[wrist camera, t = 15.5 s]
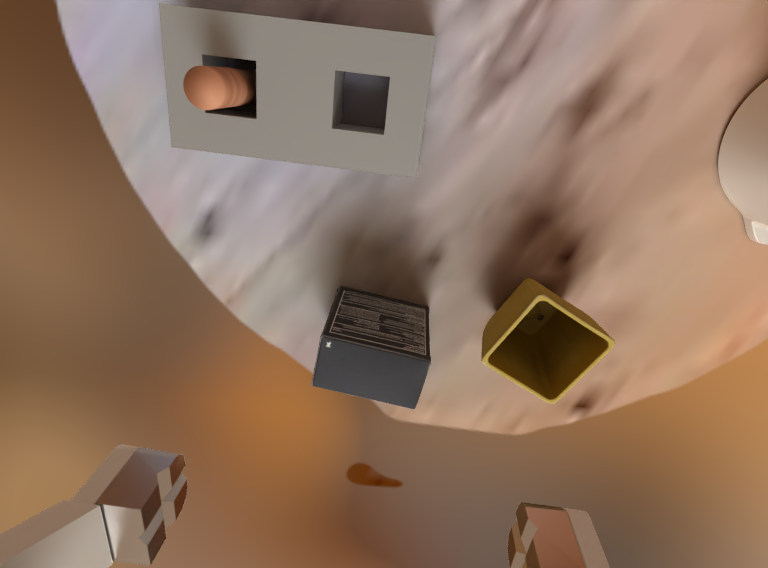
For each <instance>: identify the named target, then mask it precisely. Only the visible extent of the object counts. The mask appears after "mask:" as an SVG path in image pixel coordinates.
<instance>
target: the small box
mask: <svg viewBox="0 0 768 568" xmlns="http://www.w3.org/2000/svg"><path fill="white" fill-rule="evenodd" d="M429 339H430V338H429V308H428V307H424V306H420V305H416V304H412V303H408V302H404V301H400V300H396V299H392V298H387V297H383V296H379V295H375V294H371V293H367V292H362V291H358V290H354V289H350V288H345V287H342V286H341V287H339V288H338V289H337V295H336V297H335V300H334V303H333V305H332V308H331V311H330V313H329V316H328V319H327V322H326V324H325V327H324V330H323V332H322V334H321V336H320V343H319V348H318V353H317V359H316V363H315V368H314V374H313V379H312V385H313V386H315V387H320V388H324V389H328V390H333V391H337V392H342V393H346V394H350V395H355V396H359V397H363V398H368V399H372V400H376V401H381V402H385V403H389V404H394V405H398V406H402V407H406V408H410V409H415V408H416V405H417V403H418V400H419V397H420V394H421V391H422V388H423V385H424V382H425V379H426V376H427V372H428V369H429V366H430V363H431V357H430V344H429V342H430V341H429Z"/></svg>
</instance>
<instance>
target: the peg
mask: <svg viewBox="0 0 768 568" xmlns="http://www.w3.org/2000/svg"><path fill="white" fill-rule="evenodd" d="M183 87H184V92H185V95H186V97H187V98H188V100H189V101H190V102H191V103H192V104H193V105H194V106H195V107H197V108H199V109H202V110H213V109H220V108H227V107H235V106H242V105H249V104H256V103H257V98H256V71H255V70H253V69H242V68H228V67H213V66H195V67H192V68H191V69H189V70H188V71H187V73H186V75H185V77H184V81H183Z"/></svg>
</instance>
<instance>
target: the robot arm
mask: <svg viewBox="0 0 768 568" xmlns="http://www.w3.org/2000/svg"><path fill="white" fill-rule="evenodd" d="M718 172H719V178H720V182H721V186H722V188H723V190H724V192H725V194H726V196H727V197H728V199H729V200H730V201H731V202H732V204H733V205H734V206H735V207H736V208H737V209H738V210H739V211H740V212H741V214H742V215H743V218H744V223H745V228H746V232H747V235H748V237H749V238H750V239H751V240H752V241H754V242H757V243H761V244H768V79H767V80H765V81H764V82H763V83H762V84H761V85H759V86H758V87H757V88H756V89H755V90H754V91H753V92H752V93H751V94H750V95H749V96H748V97H747V99H746V100H745V101H744V102H743V103H742V105H741V106H740V107H739V109H738V110H737V112H736V113H735V114H734V116H733V118H732V119H731V121H730V123H729V125H728V127H727V129H726V131H725V134H724V137H723V139H722V143H721V146H720V151H719V158H718ZM184 467H185V460H184V455H181V454H176V453H170V452H164V451H158V450H152V449H146V448H139V447H133V446H127V445H120V446H118V447H116V448H115V449H114V450H112V452H111V453H110V454H109V455H108V457H107V458H106V459H105V460H104V461H103V462H102V464H101V465H100V466H99V467H98V468H97V469H96V471H95V472H94V473H93V474H92V475H91V476H90V478H89V479H88V480H87V482H85V484H84V485H83V486H82V487H81V488H80V489H79V491H78V492H77V493H76V494H75V496H74V497H73V498H72V499H71V500H70V501H68V500H63V501H61V502H59V503H57V504H55V505H53V506H52V507H50V508H48V509H46V510H44V511H42V512H41V513H39V514H37V515H35V516H33V517H31V518H30V519H28V520H26V521H24V522H22V523H20V524H18V525H16V526H15V527H13V528H11V529H9V530H7V531H5V532H3V533H1V534H0V568H108V567H109V566H111V565H112V564H113V561H115V562H124V563H132V564H141V565H149V566H151V564H152V562H153V560H154V559H155V557H156V555H157V553H158V551H159V550H160V548H161V546H162V545H163V543H164V541H165V539H166V534H165V528H166V527H167V526H169V525H170V524H172V523H173V522H174V521H176V520H177V518H178V516H179V514H180V512H181V510H182V508H183V505H184V502H185V499H186V495H187V479H186V478H185V476H183V474H182V473H181V472H182V470H183V469H184ZM516 517H517V522H516V523H515V524H513V525H512V526H511V529H510V532H509V536H508V547H507V549H508V560H509V566H510V568H610V567H609V565H608V562H607V560H606V557H605V555H604V552H603V549H602V547H601V544H600V542H599V539H598V537H597V534H596V532H595V529H594V526H593V524H592V521H591V519H590V517H589V515H588V514H587V513H586V511H579V510H573V509H566V508H561V507H554V506H546V505H537V504H530V503H522V502H521V503H520V504H519V505H518V508H517V510H516Z"/></svg>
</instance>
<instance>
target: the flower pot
mask: <svg viewBox="0 0 768 568" xmlns="http://www.w3.org/2000/svg"><path fill="white" fill-rule="evenodd" d="M539 315H542V316H543V318H542V319H538V316H539ZM520 321H521V322H520ZM614 345H615V341H614V340H613V339H612V338H611V337H610V336H609V335H608V334H607V333H606V332H605V331H604V330H603V329H602V328H601V327H600V326H599V325H598V324H597V323H596V322H595V321H594V320H593V319H592V318H591V317H590V316H588V315H587V314H586V313H584V312H583V311H581V310H580V309H578V308H576V307H575V306H573V305H572V304H570V303H568V302H567V301H565V300H564V299H562V298H561V297H559V296H558V295H556V294H555V293H553V292H552V291H550V290H549V289H547V288H546V287H544V286H543V285H541V284H540V283H538V282H537V281H535V280H534V279H532V278H527V279H525V280H524V281H523V282H522V283H521V284H520V285H519V286H518V287H517V289H516V290H515V291H514V292H513V293H512V294H511V296H510V297H509V298H508V299H507V300H506V301H505V303H504V304H503V305H502V306H501V307H500V308H499V309H498V311H497V312H496V313H495V314H494V315H493V316H492V318H491V319H490V320H489V322H488V323H487V325H486V327H485V329H484V332H483V338H482V359H481V361H482V363H483V364H484V365H486V366H487V367H489V368H491V369H492V370H494V371H495V372H497V373H499V374H500V375H502V376H504V377H506V378H507V379H509V380H511V381H512V382H514V383H515V384H517V385H519V386H521V387H522V388H524V389H525V390H527V391H529V392H530V393H532V394H534V395H535V396H537V397H538V398H540V399H542V400H543V401H545V402H548V403H550V404H554V403H556V402H557V401H558V400H559V399H560V398H562V397H563V396H564V395H565V394H566V393H567V392H568V391H569V390H570V389H571V388H572V387H573V386H574V385H575V384H576V383H577V382H578V381H579V380H580V379H581V378H582V377H583V376H584V375H585V374H586V373H587V372H588V371H589V370H590V369H591V368H592V367H593V366H595V365H596V364H597V363H598V362H599V361H600V360H601V359H602V358H603V357H604V356H605V355H606V354H607V353H608V352H609V351H610V350H611V349H612V348H613V346H614Z"/></svg>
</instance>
